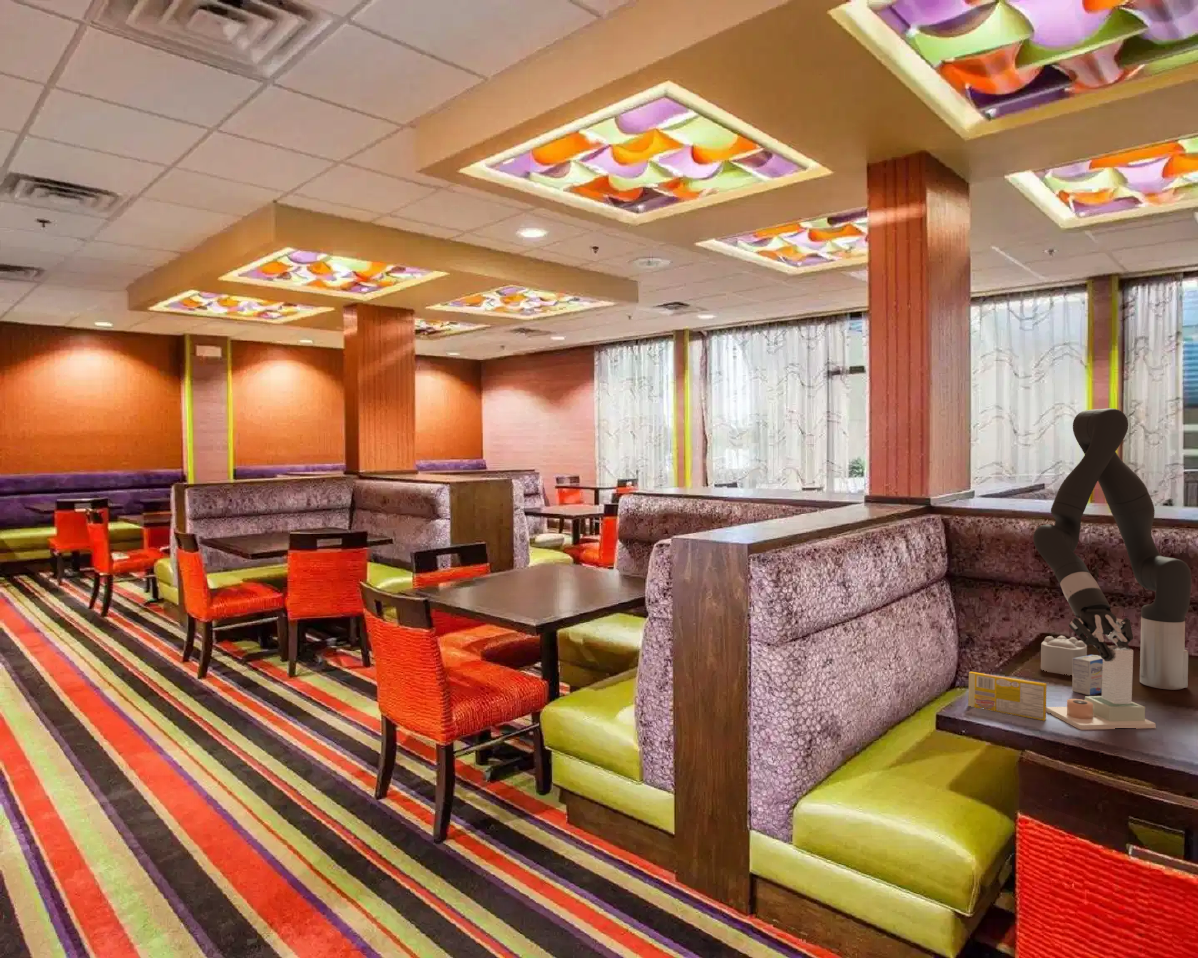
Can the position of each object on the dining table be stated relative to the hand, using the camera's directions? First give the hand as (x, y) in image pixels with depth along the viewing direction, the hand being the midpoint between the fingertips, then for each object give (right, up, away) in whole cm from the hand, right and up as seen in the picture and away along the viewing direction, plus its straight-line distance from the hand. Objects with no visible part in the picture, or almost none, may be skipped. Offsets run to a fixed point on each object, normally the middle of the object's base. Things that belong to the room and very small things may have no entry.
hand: (1119, 659), depth 174 cm
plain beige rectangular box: (0, -9, +1) cm, 10 cm away
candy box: (-22, -14, +7) cm, 27 cm away
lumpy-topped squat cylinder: (+13, -13, +43) cm, 47 cm away
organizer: (-3, -14, +2) cm, 14 cm away
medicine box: (+8, -14, +22) cm, 27 cm away
